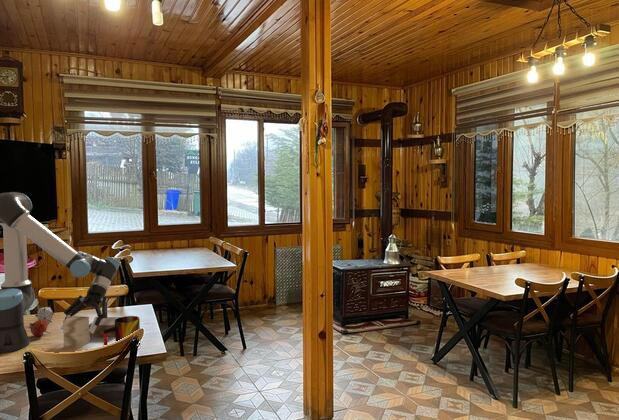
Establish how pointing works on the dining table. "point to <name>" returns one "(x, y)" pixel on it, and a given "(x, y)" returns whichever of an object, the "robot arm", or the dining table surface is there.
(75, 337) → the maple block
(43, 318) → the game die
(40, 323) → the pomegranate
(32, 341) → the dining table surface
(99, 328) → the walnut block
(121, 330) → the mug
